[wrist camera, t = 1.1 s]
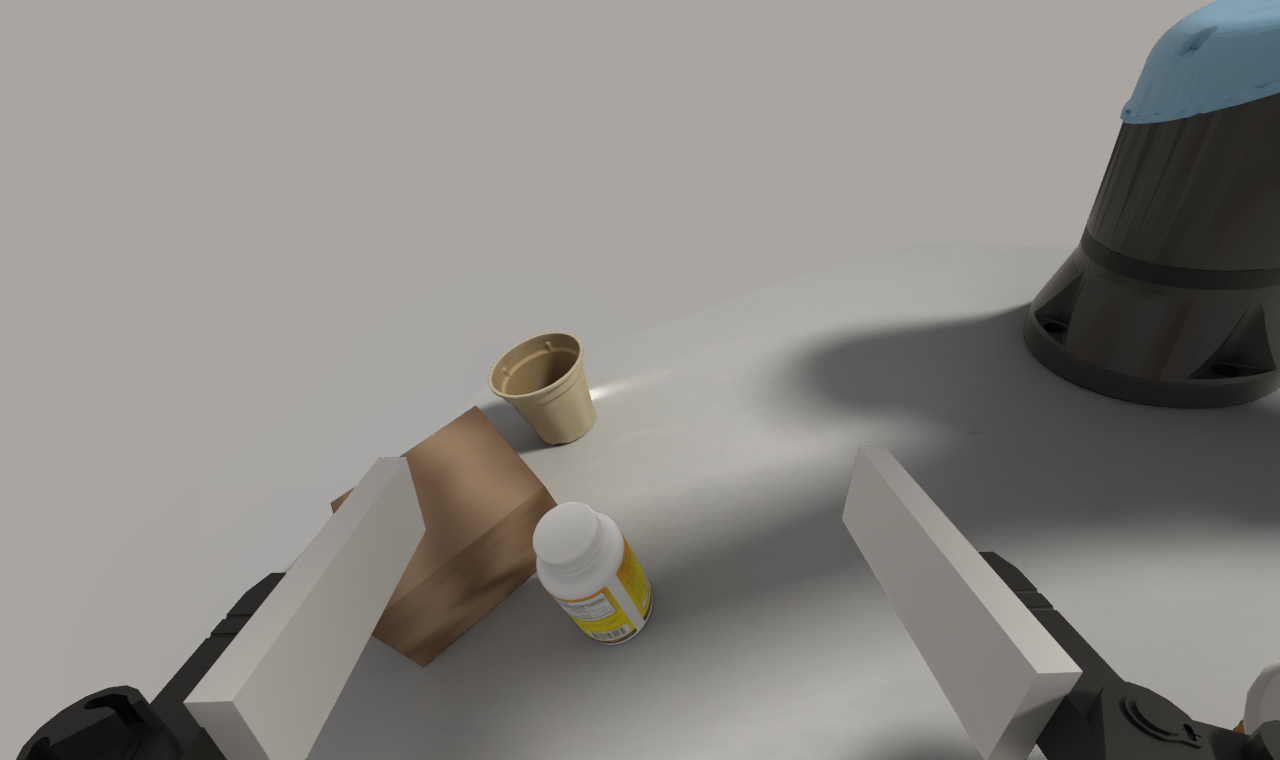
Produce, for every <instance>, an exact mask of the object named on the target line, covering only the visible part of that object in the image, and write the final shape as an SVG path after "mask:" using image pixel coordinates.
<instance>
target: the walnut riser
mask: <svg viewBox="0 0 1280 760" xmlns="http://www.w3.org/2000/svg"><path fill="white" fill-rule="evenodd" d="M400 457H406V458H407V462H408V466H409V469H410V473H411V477H412V480H413V484H414V488H415V491H416V495H417V499H418V502H419V506H420V510H421V513H422V517H423V521H424V524H425V528H426V531H425V533H424V535H423V537H422V539H421V541H420V542H419V544H418V546H417V548H416V550H415V552H414V554H413V556H412V558H411V560H410V562H409V563H408V565H407V567H406V569H405V571H404V573H403V575H402V577H401V579H400V581H399V583H398V584H397V586H396V588H395V590H394V592H393V594H392V596H391V598H390V600H389V602H388V604H387V605H386V607H385V609H384V611H383V613H382V615H381V617H380V619H379V621H378V623H377V625H376V626H375V628H374V630H373V632H372V634H371V635H373V636H374V637H376V638H378V639H379V640H381V641H382V642H384V643H386V644H387V645H389V646H390V647H392V648H394V649H395V650H397V651H398V652H400V653H402V654H403V655H405V656H406V657H408V658H410V659H411V660H413V661H415V662H416V663H418V664H419V665H421V666H423V667H425V666H426V665H427V664H428V663H429V662H431V661H432V660H433V659H434V658H435V657H437V656H438V655H439V654H440V653H441V652H442V651H444V650H445V649H446V648H447V647H448V646H449V645H451V644H452V643H453V642H454V641H455V640H456V639H458V638H459V637H460V636H461V635H462V634H464V633H465V632H466V631H467V630H468V629H469V628H471V627H472V626H473V625H474V624H475V623H476V622H478V621H479V620H480V619H481V618H482V617H483V616H485V615H486V614H487V613H488V612H489V611H491V610H492V609H493V608H494V607H495V606H496V605H498V604H499V603H500V602H501V601H502V600H503V599H505V598H506V597H507V596H508V595H509V594H510V593H512V592H513V591H514V590H515V589H516V588H518V587H519V586H520V585H521V584H522V583H523V582H525V581H526V580H527V579H528V578H529V577H530V576H532V575H533V574H534V573H535V572H536V571H537V567H536V561H537V554H536V553H535V550H534V547H533V535H534V531H535V529H536V526H537V524H538V523H539V521H540V520H541V518H542V517H543V516H544V515H545V514H546V513H547V512H548V511H550V510H551V509H553V508H554V507H556V506H558V505H557V504H556V502H555V501H554V499H553V498H552V496H551V495H550V493H549V492H548V490H547V489H546V487H545V486H544V485H543V484H542V482H541V481H540V480H539V479H538V478H537V477H536V475H535V474H534V473H533V472H532V471H531V470H530V468H529V467H528V466H527V465H526V464H525V462H524V461H523V460H522V459H521V458H520V457H519V455H518V454H517V453H516V452H515V451H514V450H513V448H512V447H511V446H510V445H509V444H508V443H507V441H506V440H505V439H504V438H503V437H502V436H501V434H500V433H499V432H498V431H497V430H496V428H495V427H494V426H493V425H492V424H491V423H490V421H489V420H488V419H487V418H486V417H485V416H484V414H483V413H482V412H481V411H480V410H479V409H478V407H477V406H474V407H473V408H471V409H470V410H468V411H467V412H465V413H464V414H463V415H461V416H460V417H458V418H457V419H455V420H454V421H452V422H451V423H449V424H448V425H446V426H445V427H443V428H442V429H440V430H439V431H437V432H436V433H434V434H433V435H431V436H430V437H428V438H427V439H425V440H424V441H422V442H421V443H419V444H418V445H416V446H415V447H413V448H412V449H410V450H409V451H407V452H406V453H404V454H403V455H401V456H400ZM354 488H355V487H354ZM354 488H352V489H351V490H349V491H348V492H346V493H345V494H344V495H342V496H340V497H339V498H337V499H336V500H334V501H333V502H332V503H331V507H332V510H333V515H334V513H335V512H336V511H337V510H338V508H339V507H340V506H341V505H342V503H343V502H344V501H345V500H346V498H347V497H348V496H349V495H350V493H351V492H352V491H353V490H354Z"/></svg>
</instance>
